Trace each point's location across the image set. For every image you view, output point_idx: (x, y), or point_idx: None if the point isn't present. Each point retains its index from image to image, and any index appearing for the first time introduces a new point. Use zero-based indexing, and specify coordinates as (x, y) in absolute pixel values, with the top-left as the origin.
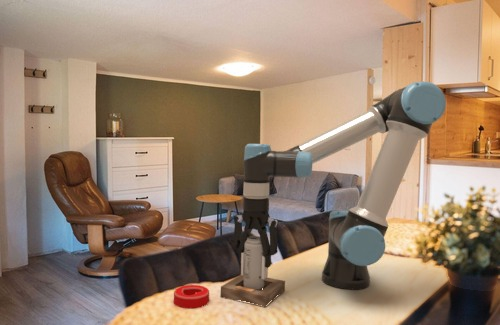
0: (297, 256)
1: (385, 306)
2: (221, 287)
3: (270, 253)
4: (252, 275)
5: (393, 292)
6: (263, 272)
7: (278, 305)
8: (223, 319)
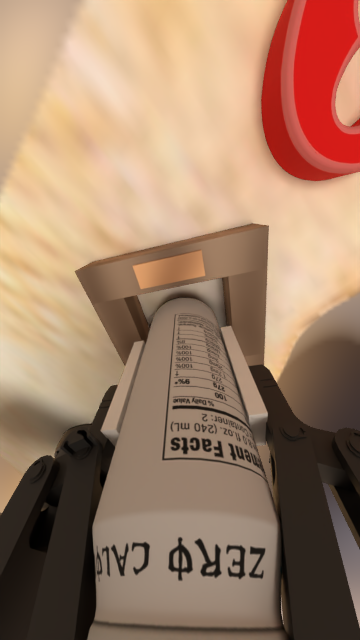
0: None
1: None
2: (263, 227)
3: (51, 467)
4: (162, 327)
5: (29, 446)
6: (128, 360)
7: (84, 298)
8: (93, 12)
